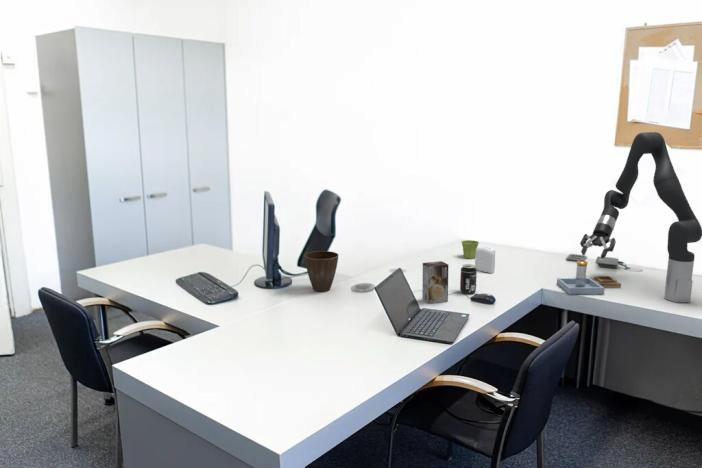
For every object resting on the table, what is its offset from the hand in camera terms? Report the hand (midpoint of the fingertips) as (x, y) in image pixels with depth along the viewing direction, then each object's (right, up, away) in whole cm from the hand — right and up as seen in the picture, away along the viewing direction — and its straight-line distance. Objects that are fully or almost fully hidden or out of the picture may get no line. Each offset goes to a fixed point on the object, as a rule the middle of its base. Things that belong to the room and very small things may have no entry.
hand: (592, 255), depth 258 cm
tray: (-8, -15, -5) cm, 17 cm away
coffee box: (-74, -18, -18) cm, 78 cm away
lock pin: (-8, -14, -5) cm, 17 cm away
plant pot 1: (-122, -15, -3) cm, 123 cm away
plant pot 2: (-45, -3, +52) cm, 69 cm away
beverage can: (-58, -16, -8) cm, 60 cm away
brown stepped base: (+6, -13, +2) cm, 15 cm away
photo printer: (-43, -9, +26) cm, 51 cm away
